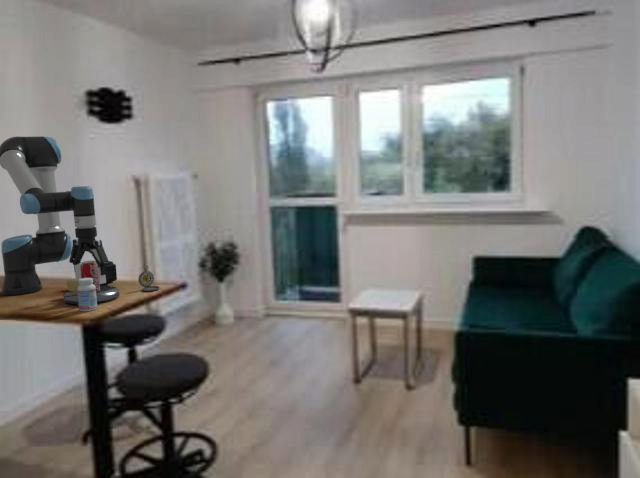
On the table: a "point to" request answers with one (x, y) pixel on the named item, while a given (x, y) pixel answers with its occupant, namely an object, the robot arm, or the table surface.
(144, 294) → the table surface
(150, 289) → the pocket watch
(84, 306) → the pill bottle
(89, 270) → the beverage can
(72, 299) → the turntable
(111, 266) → the camera
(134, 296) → the table surface
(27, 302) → the table surface
